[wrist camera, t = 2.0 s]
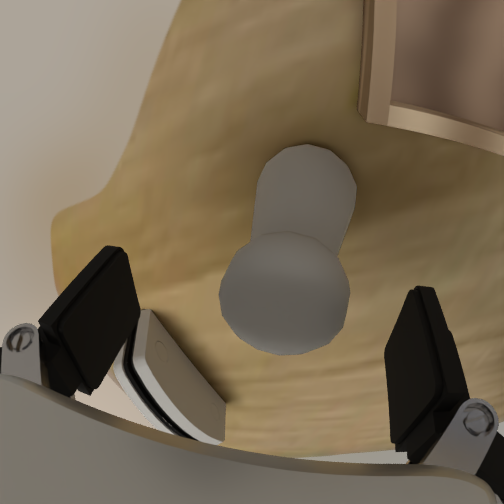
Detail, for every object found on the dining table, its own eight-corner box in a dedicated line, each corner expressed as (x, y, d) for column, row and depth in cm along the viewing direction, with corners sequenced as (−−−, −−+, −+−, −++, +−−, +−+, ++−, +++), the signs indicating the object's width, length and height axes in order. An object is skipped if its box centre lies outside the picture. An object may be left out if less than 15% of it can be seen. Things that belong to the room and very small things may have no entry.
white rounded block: (117, 314, 32) (91, 379, 23) (152, 298, 32) (132, 365, 23) (194, 405, 39) (193, 467, 30) (226, 394, 39) (230, 459, 30)
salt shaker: (364, 151, 19) (409, 275, 8) (339, 229, 22) (337, 393, 11) (273, 127, 19) (194, 217, 8) (257, 207, 22) (186, 353, 12)
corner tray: (519, 0, 9) (560, -7, 5) (508, 147, 15) (546, 171, 11) (363, -52, 11) (372, -84, 7) (356, 109, 17) (366, 122, 13)
